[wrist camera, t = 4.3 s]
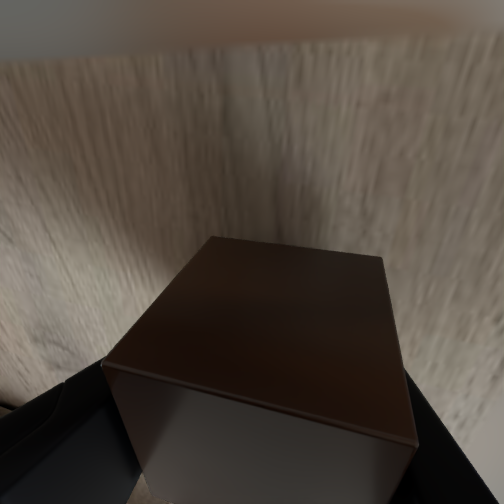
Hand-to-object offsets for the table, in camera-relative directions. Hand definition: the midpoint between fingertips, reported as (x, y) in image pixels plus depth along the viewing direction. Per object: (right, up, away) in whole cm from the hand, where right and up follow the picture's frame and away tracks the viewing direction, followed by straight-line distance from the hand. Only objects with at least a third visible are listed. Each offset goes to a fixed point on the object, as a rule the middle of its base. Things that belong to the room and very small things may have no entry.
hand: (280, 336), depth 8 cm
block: (0, +1, +1) cm, 1 cm away
